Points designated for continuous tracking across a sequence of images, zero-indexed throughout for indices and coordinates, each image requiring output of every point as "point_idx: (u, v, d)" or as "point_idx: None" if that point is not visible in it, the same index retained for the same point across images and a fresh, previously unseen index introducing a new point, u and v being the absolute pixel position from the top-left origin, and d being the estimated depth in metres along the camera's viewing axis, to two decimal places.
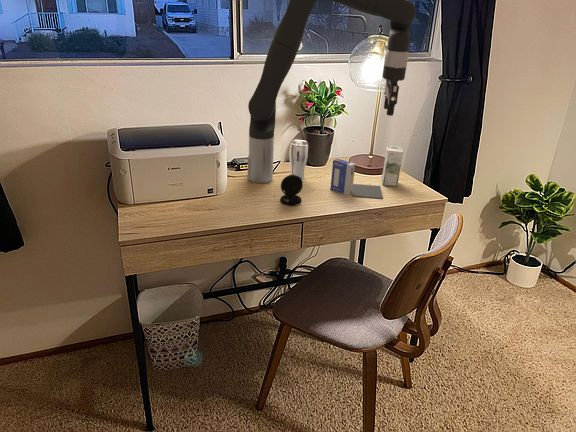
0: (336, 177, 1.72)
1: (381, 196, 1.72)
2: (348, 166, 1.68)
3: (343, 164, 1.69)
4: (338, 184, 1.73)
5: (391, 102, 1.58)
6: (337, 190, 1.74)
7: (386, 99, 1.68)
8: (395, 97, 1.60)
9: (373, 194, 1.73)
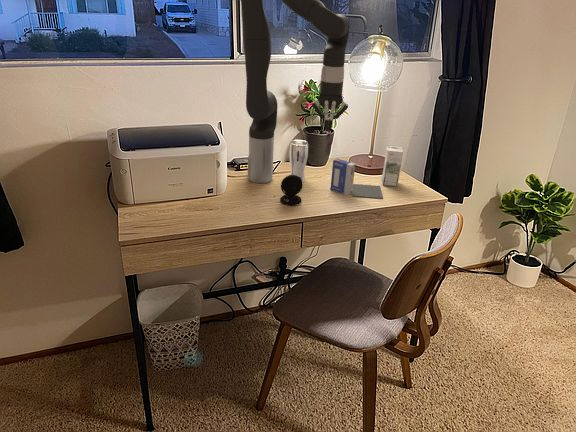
0: (336, 177, 1.72)
1: (381, 196, 1.72)
2: (348, 166, 1.68)
3: (343, 164, 1.69)
4: (338, 184, 1.73)
5: None
6: (337, 190, 1.74)
7: (328, 120, 1.63)
8: None
9: (373, 194, 1.73)
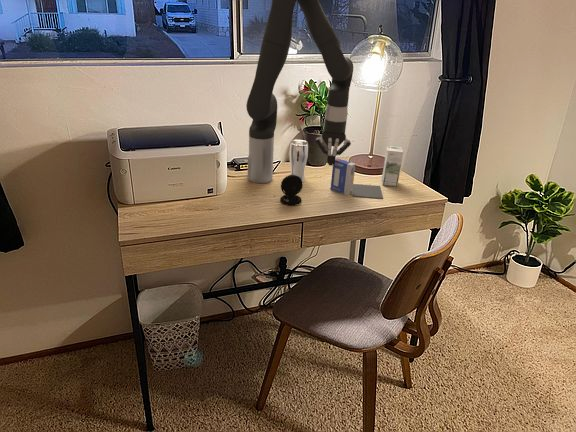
0: (336, 177, 1.72)
1: (381, 196, 1.72)
2: (348, 166, 1.68)
3: (343, 164, 1.69)
4: (338, 184, 1.73)
5: None
6: (337, 190, 1.74)
7: (331, 156, 1.68)
8: None
9: (373, 194, 1.73)
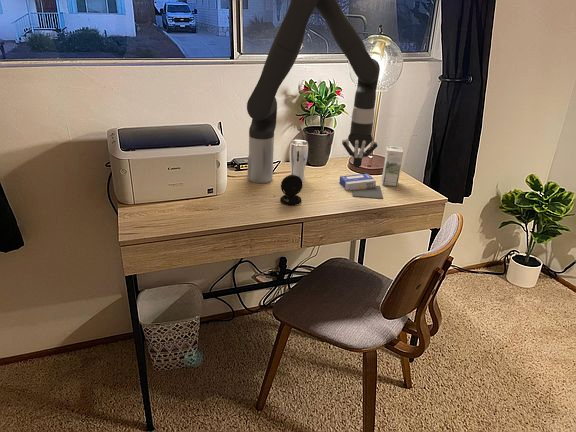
0: (355, 177, 1.80)
1: (381, 196, 1.72)
2: (373, 179, 1.78)
3: (371, 177, 1.80)
4: (350, 178, 1.79)
5: None
6: (344, 179, 1.78)
7: None
8: None
9: (373, 194, 1.73)
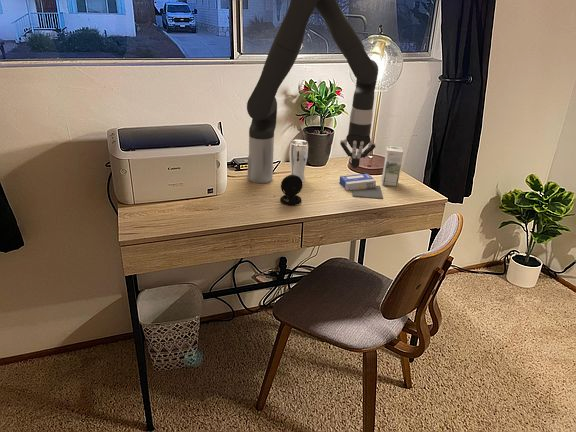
0: (355, 177, 1.80)
1: (381, 196, 1.72)
2: (373, 179, 1.78)
3: (371, 177, 1.80)
4: (350, 178, 1.79)
5: None
6: (344, 179, 1.78)
7: None
8: None
9: (373, 194, 1.73)
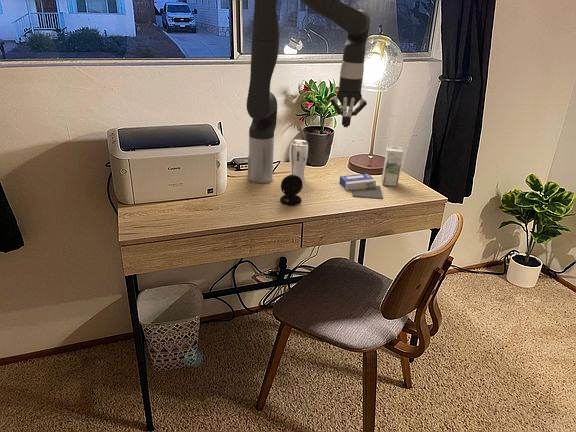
0: (355, 177, 1.80)
1: (381, 196, 1.72)
2: (373, 179, 1.78)
3: (371, 177, 1.80)
4: (350, 178, 1.79)
5: None
6: (344, 179, 1.78)
7: None
8: None
9: (373, 194, 1.73)
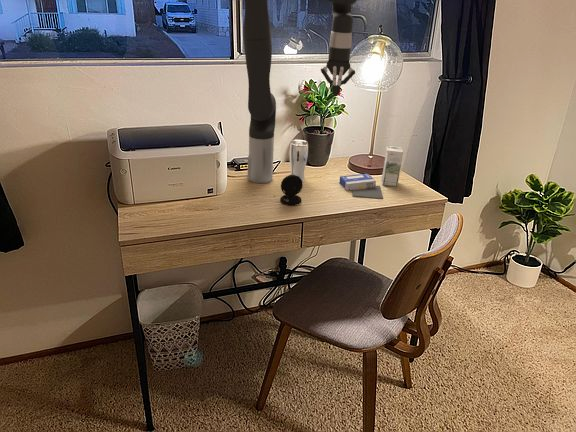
0: (355, 177, 1.80)
1: (381, 196, 1.72)
2: (373, 179, 1.78)
3: (371, 177, 1.80)
4: (350, 178, 1.79)
5: None
6: (344, 179, 1.78)
7: (336, 86, 1.71)
8: None
9: (373, 194, 1.73)
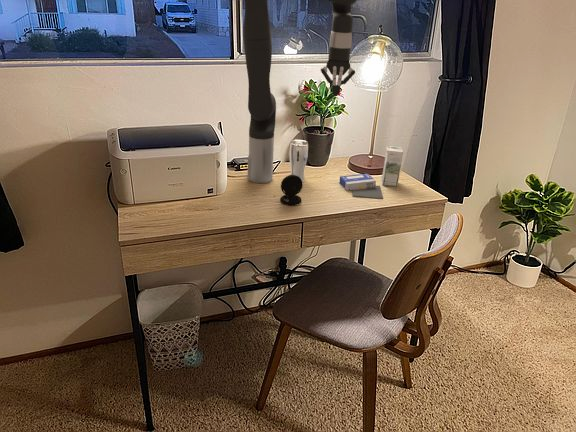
0: (355, 177, 1.80)
1: (381, 196, 1.72)
2: (373, 179, 1.78)
3: (371, 177, 1.80)
4: (350, 178, 1.79)
5: None
6: (344, 179, 1.78)
7: (336, 86, 1.71)
8: None
9: (373, 194, 1.73)
